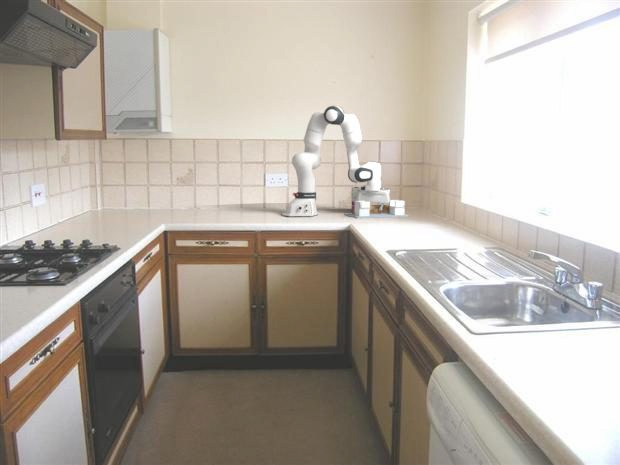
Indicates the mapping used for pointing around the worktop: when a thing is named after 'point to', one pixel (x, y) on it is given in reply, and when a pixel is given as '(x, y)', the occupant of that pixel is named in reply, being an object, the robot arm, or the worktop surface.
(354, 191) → the candy bar box
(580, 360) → the worktop surface
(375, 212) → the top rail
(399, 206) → the grey base with supports
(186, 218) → the worktop surface
